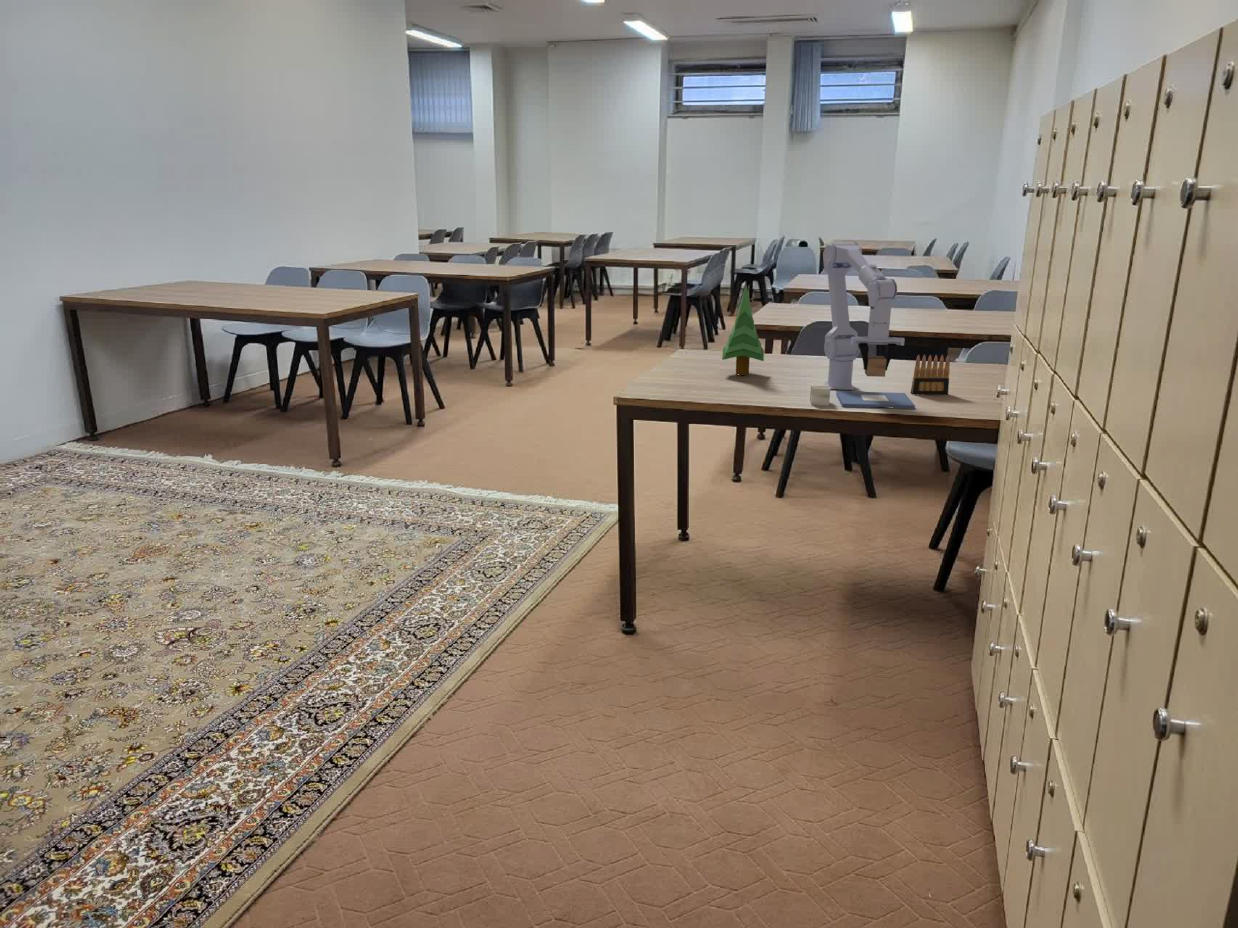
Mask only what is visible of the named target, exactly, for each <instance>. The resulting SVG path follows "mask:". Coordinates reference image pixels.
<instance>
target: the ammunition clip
mask: <svg viewBox="0 0 1238 928" xmlns="http://www.w3.org/2000/svg"><path fill="white" fill-rule="evenodd" d="M939 358H940V359H939ZM939 358H938V355H937V354H935V356H934V359H933V358H932V354H929V356H928V359H927V357H926V354H923V357H922V360H921V357H920V354H918V355H917V357H916V360H915V365H914V370H913V377H912V383H911V389H910V394H911V395H913V394H919V396H929V395H930V396H933V395H935V396H948V395H949V387H950V386H949V383H950V369H951V368H950V365H951V364H950V360H951V358H950V355H949V354H947V356H946V358H944V354H941V356H940V357H939ZM932 359H933V360H932ZM938 359H939V360H938ZM944 362H945V363H944ZM938 363H939V364H938ZM921 394H922V395H921ZM923 394H924V395H923Z"/></svg>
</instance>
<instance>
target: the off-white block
mask: <svg viewBox="0 0 1238 928" xmlns="http://www.w3.org/2000/svg"><path fill="white" fill-rule="evenodd" d="M809 395H810V397H809V402H810V405H811V406H830V399H831V398H830V397H831V389H830V387H829V385H826V384H810V394H809Z"/></svg>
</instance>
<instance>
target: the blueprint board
mask: <svg viewBox="0 0 1238 928" xmlns="http://www.w3.org/2000/svg"><path fill="white" fill-rule="evenodd" d="M835 394H836V397H837V399H838V401H839V403H840V406H841V407H842V408H860V407H893V408H892V409H895V408H910V409H909V410H915V409H916V405H915V403H914V402H913V401H912V400H911V399H910V398H909V397H908V394H906V393H905V392H887V391H886V392H884V391H882V392H881V391H879V392H878V391H851V390H848V391H847V390H846V391H845V390H841V391H840V390H836V392H835Z"/></svg>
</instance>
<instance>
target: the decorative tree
mask: <svg viewBox="0 0 1238 928" xmlns="http://www.w3.org/2000/svg"><path fill="white" fill-rule="evenodd" d="M752 311H753V310H752V306H751V301H750V295H749V290H748V286H747V284H745V285H744V290H743V292H742V296H741V299H740V303H739V307H738V311H737V315H736V318H735V320H734V325H733V327H732V329H731V333H730V334H729V335H728V340H727V341H726V342H725V346H724V347H723V348H722V355H721V356H722V357H721V360H722V361H723V360H728V359H733V358H735V360H736V361H735V375H736V374H739V375H750V359H754V360H758V361H762V362H764V361H765V356H764V355H765V349H764V348H763V347H762V342H761V341H760V336H759V335H758V333H757V329H756V326H755V321H754V318H753V317H754V316H753V315H752Z"/></svg>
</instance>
